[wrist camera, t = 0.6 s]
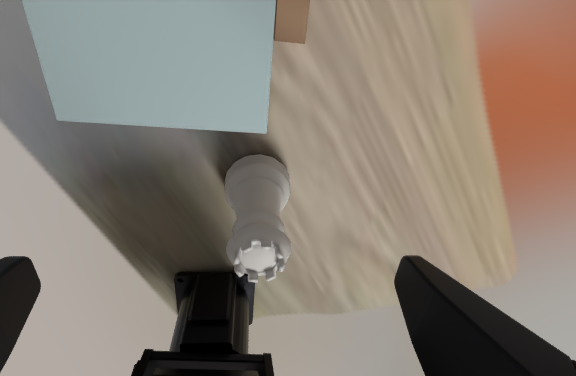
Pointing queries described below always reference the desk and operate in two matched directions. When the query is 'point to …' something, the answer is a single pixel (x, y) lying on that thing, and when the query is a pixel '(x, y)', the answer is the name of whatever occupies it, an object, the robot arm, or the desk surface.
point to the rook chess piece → (258, 216)
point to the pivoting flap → (157, 61)
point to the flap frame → (291, 20)
